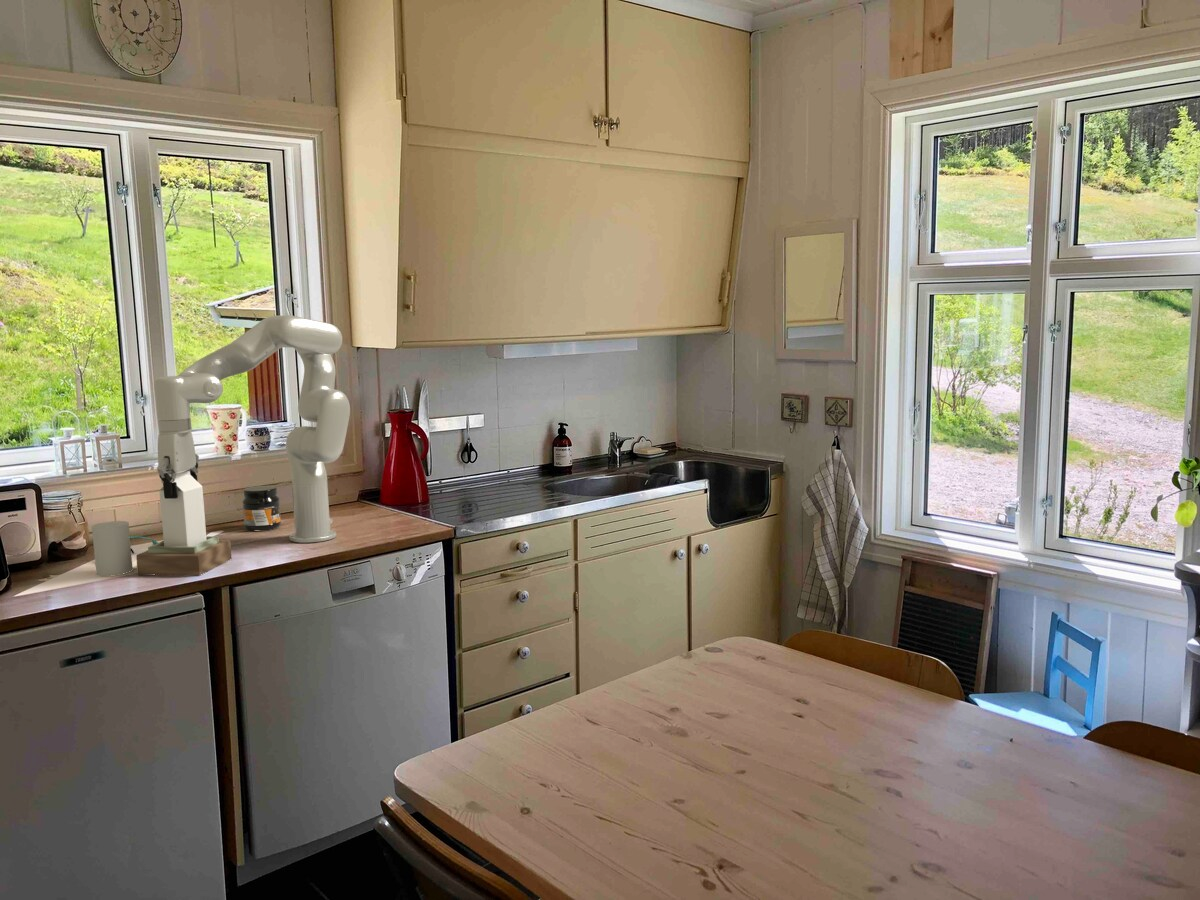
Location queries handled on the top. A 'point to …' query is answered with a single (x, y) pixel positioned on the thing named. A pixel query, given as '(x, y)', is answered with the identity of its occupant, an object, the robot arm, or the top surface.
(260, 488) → the supplement container
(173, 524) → the milk carton
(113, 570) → the cup
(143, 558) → the stand
